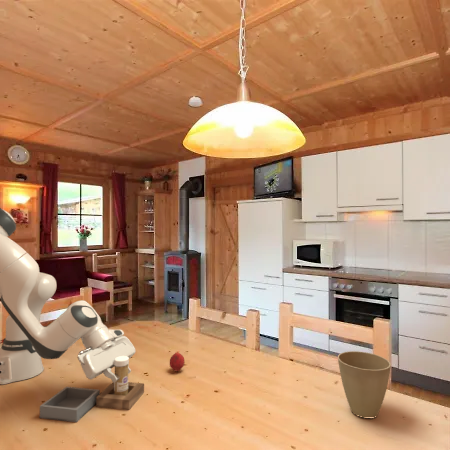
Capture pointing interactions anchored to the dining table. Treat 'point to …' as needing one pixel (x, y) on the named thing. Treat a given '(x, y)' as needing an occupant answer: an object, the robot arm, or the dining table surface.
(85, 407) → the tray
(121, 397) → the collar block
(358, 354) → the plant pot
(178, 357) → the onion
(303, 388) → the dining table surface
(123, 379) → the sprinkles bottle
